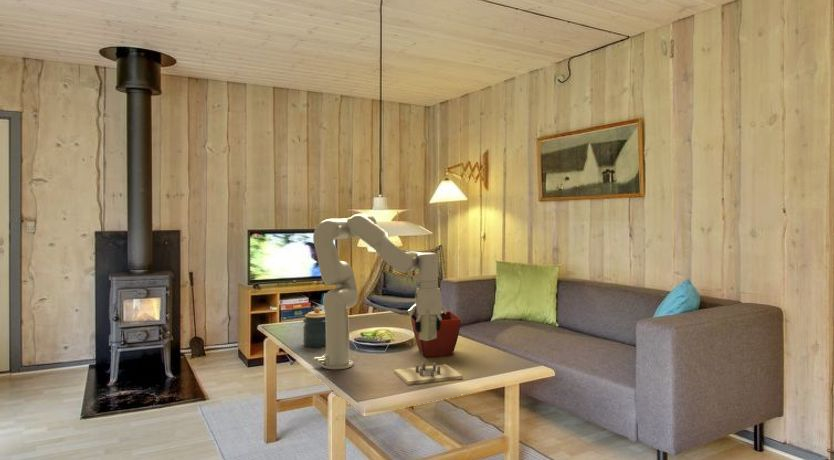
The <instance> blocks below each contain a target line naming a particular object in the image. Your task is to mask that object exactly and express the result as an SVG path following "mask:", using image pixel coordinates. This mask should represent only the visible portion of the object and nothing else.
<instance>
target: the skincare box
mask: <svg viewBox="0 0 834 460" xmlns="http://www.w3.org/2000/svg"><path fill="white" fill-rule="evenodd" d="M419 322H420V332H419V339H420V340H425V341H429V340H432V339H435V338H437V315H430V309H426V315H424V316H421V318H420V320H419Z"/></svg>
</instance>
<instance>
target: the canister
mask: <svg viewBox="0 0 834 460" xmlns="http://www.w3.org/2000/svg"><path fill="white" fill-rule="evenodd" d="M304 317H305V318H304V319H302V321H303V327H302V329H303V339H302V342H303V346H304V347H305V348H306V347H307V348H311V349H312V348H313V349H314V348H326V321H325V311H322V310H320V308H319V307H315V308H314V311H309V312H307V313H306V314H304Z"/></svg>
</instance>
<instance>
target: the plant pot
mask: <svg viewBox="0 0 834 460" xmlns="http://www.w3.org/2000/svg"><path fill="white" fill-rule="evenodd" d="M413 314H414V315H416V313H415V312H413ZM410 320H411V325H412V330H413V335H414V338H415V339H414V340H415V341H416V346H417V349H418V351H419V352H420V353H421V355H422V356H423V357H424V358H432V357H433V358H434V357H450V356H452V355H454V351H455V348H456V346H457V342H458V338H459V334H460V328H461V322H462V319H461V318H460V317H459V316H457V315H456V314H454V313H453V312H452V311H450V310H448V311H447V312H446V314H445V316H444V317H443V318H442V320H441V328H440V331H438V330H437V338H435V339H432V340H429V341H425V340H420V339H419V332H417V331H416V330H415V320H414V319H413V318H412V317H411V316H410Z"/></svg>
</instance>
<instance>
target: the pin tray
mask: <svg viewBox="0 0 834 460" xmlns="http://www.w3.org/2000/svg"><path fill="white" fill-rule="evenodd" d="M394 374H395V375H397V376H398V378H399V379H400V380H402V381H403V382H404V383H405V384H406V385H407V386H410V385H418V384H426V383H435V382H444V381H455V380H461V379H462V380H463V379H464V378H463V376H464V375H462V374H461V373H460V372H459V371H457V370H456V369H454V368H452V367H450V366H449V365H448V364H445V363H443V364H437V363H435V362H433V363H432V365H427V366H426V362H424V361H423V362H421V366H420V365H419V364H415V366H414V367H406V368H397V369H394Z"/></svg>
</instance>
